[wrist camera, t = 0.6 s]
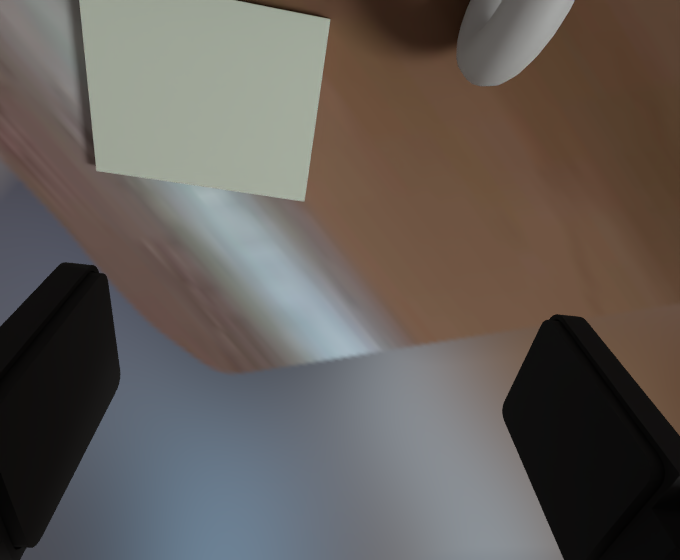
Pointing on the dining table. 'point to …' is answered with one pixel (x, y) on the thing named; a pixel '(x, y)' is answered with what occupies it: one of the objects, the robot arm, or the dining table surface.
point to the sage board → (204, 92)
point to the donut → (505, 36)
